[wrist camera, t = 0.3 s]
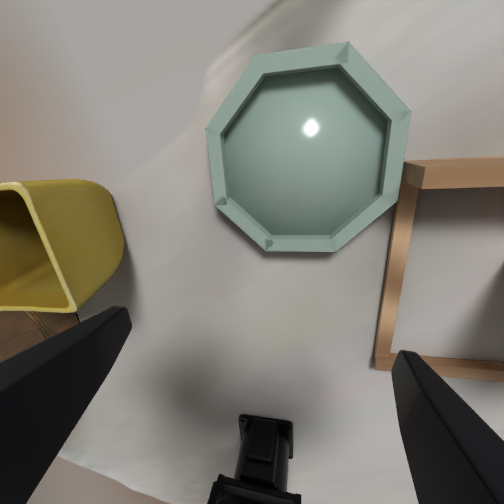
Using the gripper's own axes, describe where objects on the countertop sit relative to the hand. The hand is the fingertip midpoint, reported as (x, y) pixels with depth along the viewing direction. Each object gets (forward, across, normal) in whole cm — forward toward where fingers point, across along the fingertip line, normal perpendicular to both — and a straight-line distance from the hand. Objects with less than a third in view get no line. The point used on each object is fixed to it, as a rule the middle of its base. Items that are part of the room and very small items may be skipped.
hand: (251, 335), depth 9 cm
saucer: (+14, -1, -3) cm, 15 cm away
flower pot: (+14, +18, +3) cm, 23 cm away
